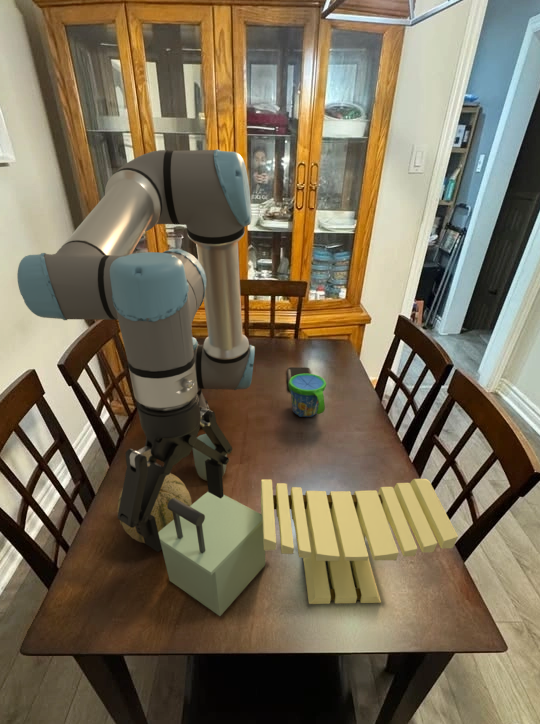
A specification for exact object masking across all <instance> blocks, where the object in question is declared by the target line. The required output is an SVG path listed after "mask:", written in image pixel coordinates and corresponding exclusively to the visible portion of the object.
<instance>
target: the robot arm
mask: <svg viewBox="0 0 540 724" xmlns="http://www.w3.org/2000/svg"><path fill="white" fill-rule="evenodd" d="M249 182H250V181H249V177H248V171H247V167H246V163H245V160H244V158H243V157H242V156H241V154H240V153H238V152H236V151H229V150H227V151H226V150H220V149H218V148H217V149H196V150H193V149H192V150H188V149H187V150H168V149H160V150H159V149H158V150H153V151H150V152H147V153H144V154H141V155H138V156H137V157H135V158H134V159H131V160H130V161H128V162H126V163H124V164H123V165H122V166H120V167H119V168H118V169H117V170H116V171H115V172H113V174H112V175H111V176H110V177H109V179H108V180H107V182H106V185H105V189H104V190H105V191H104V196H103V197H102V198H101V199H100V200H99V202H98V203H97V204H96V205H95V206H94V207H93V209H92V210H91V211H90V212H89V213H88V214H87V216H85V218H84V219H83V221H82V222H81V223H80V224H79V225H78V226H77V228H76V229H75V230H74V231H73V232H72V234H71V235H70V236H69V237H68V238H67V239H66V241H65V242H64V243H63V244H62V245H61V247H60V248H59V249H58V250H57V251H56V253H52V254H50V253H47V252H41V253H40V254H39V253H38V254H28V255H25V256H24V257H23V258H21V260H20V261H19V264H18V266H17V285H18V290H19V294H20V295H21V297H22V299H23V301H24V304H25V306H26V307H27V309H28V310H29V311H30V312H31V313H32V314H34V315H35V316H37V317H40V318H44V319H55V320H56V319H57V320H63V321H68V320H106V321H108V320H111V321H112V320H114V321H118V325H119V329H120V333H121V337H122V342H123V347H124V350H125V356H126V360H127V366H128V371H129V375H130V381H131V387H132V390H133V397H134V399H135V401H136V408H137V409H136V410H137V414H138V417H139V423H140V427H141V429H142V431H143V433H144V435H145V444H144V446H143V447H141V448H139V449H138V450H134V449H133V448H129V449H127V450H126V451H125V454H124V455H125V463H126V470H125V476H124V480H123V485H122V489H123V490H121V491H122V495H121V501H120V506H119V511H118V510H117V511H118V513H117V520H120V521H122V522H123V523H125V524H126V525H128V526H129V527H131V528H133V527H136V531H137V533H138V534H140V535H141V536H143V538H144V541H145V543H144V544H145V545H146V546H148V547H149V548H151V549H152V550H154V551H156V552H157V553H159V552H160V551H161V550H162V546H161V542H160V538H159V534H158V529H157V525H156V520H155V517H154V516H152V515H151V512H152V509H153V507H154V504H155V502H156V499H157V497H158V494H159V492H160V489H161V487H162V484H163V482H164V479H165V477H166V475H169V474H170V473H171V472H172V471H173V467H174V466H175V465H177V464H178V463H179V462H180V461H181V460H182V459H184V458H187V457H188V456H190V455H191V452H192V451H193V450H192V449H193V448H194V449H196V450H197V451H199V452H201V453H203V454H204V455H206V456H208V457H210V458H211V460H210V459H207V460H206V461H205V466H206V476H207V481H206V485H207V492H209V493H211V494H213V495H215V496H217V497H219V498H220V499H221V498H222V497H223V496H224V495H225V494H224V483H223V482H224V480H223V477H224V476H223V474H224V468H223V464H224V465H226V464H227V465H228V464H229V462H230V458H229V457H228V456H227V457H226V456H225V455H226V454H227V455H230V454H231V453H232V452H233V446H232V445H231V443H230V442H229V440H228V439H227V437H226V436H225V434H224V433H223V431H222V429H221V428H220V426H219V425H218V423H217V418H216V413H215V411H213V410H211V409H210V406H209V401H208V400H207V399H206V397H205V395H204V394H203V390H227V391H228V390H229V391H237V390H247V389H249V388H250V387H251V385H252V380H253V374H254V373H253V372H254V363H255V352H256V347H255V346H254V345H252V344H250V341H249V339H248V337H247V336H246V335H245V334H244V333H243V316H242V296H241V278H240V260H239V258H240V257H239V241H240V240H241V239H242V238H243V237H244V236H245V232H246V231H245V229H246V227H247V226H250V225H251V223H252V203H251V191H250V184H249ZM156 225H177V226H178V225H180V226H185V227H186V234H187V237H188V239H189V240H190V241H191V242H193V243H194V244H196V245H195V246H196V252H197V258H196V257H195V256H194V255H193V254H191V252H188V251H186V250H183V249H176V248H175V249H169V250H164V251H163V252H157V251H146V252H136V253H134V251H135V249H136V247H137V245H138V244H139V242H140V240H141V238H142V237H143V235H144V234H145V232H148V231H150V230H152V229H153V228H154V227H155V226H156ZM202 305H204V313H205V322H206V329H207V337H206V338H205V339H204V341H203V344H199V342H198V341H197V338H195V337H193V327H192V326H193V325H192V324H193V321H194V319H195V317H196V314H197V312H198V310H199V309H200V307H202ZM200 429H202V431H203V432H204V434H207V436H208V437H209V439H210V440H211V442H212V443H213V444H214V446H215V447H216V449H215V450H214V449H213V448H211V447H209V446H208V445H206V444H205V443H204V442H202V441H200V440H199V439H197V437H198V435H199V431H200ZM157 460H158V461H160V462H162V463H163V465H160V464H159V463H157ZM224 475H225V474H224ZM222 476H223V477H222ZM120 521H119V522H120Z"/></svg>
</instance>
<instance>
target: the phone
mask: <svg viewBox="0 0 540 724" xmlns="http://www.w3.org/2000/svg"><path fill="white" fill-rule="evenodd" d="M298 374H311V368H310V367H305V366H304V367H303V366H302V367H301V366H299V367H298V366H297V367H295V366H291V367H287V387H288V388H287V389H288V390H289V381H290V379H291V378H292V377H293V376H295V375H298Z"/></svg>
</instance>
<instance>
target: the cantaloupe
mask: <svg viewBox="0 0 540 724" xmlns="http://www.w3.org/2000/svg"><path fill="white" fill-rule="evenodd" d="M122 490H123V488H122ZM122 490H121V491H120V494H119V496H118V499H117V509H116V510H117V511H116V512H117V513H116V514H118V511H119V506H120V501H121V495H122ZM172 498H176V499H178V500H179V501H181V502H183V503H185V504H186V505H188V506H191V505H192V504H193V503H192V496H191V494H190V492H189V490H188V489H187V486H186V484H185V483H184V482H183V481H182V480H181V479H180V478H179V477H178V476H177V475H175V474H173V473H171V472H170V474H169V475H166V477H165V479H164V482H163V484H162V487H161V489H160V492H159V494H158V497H157V499H156V502H155V504H154V507H153V509H152V512H151V515H152V516H154V517H155V520H156V525H157V529H158V532H159V531H160V530H162V529H163V528H164V527H165V526H166V525H168V524H169V523H170V522H171V521H173V520H174V518H173V512H172V511H171V510H169V509H168V508H167V505H168V502H169V501H170V500H171V499H172ZM118 520H119V519H118ZM119 522H120V525H121V526H122V529H123V530H124V532H125V533H126V534H127V535H128V536H129V537H130V538H132V540H135V541H137V542H139V543H143V544H145V541H144V538H143V536H141V535H140V534H138V533H137V531H136V527H133V528H131V527H129V526H128V525H126V524H125V523H123V522H122V521H120V520H119Z"/></svg>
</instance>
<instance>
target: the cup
mask: <svg viewBox="0 0 540 724" xmlns="http://www.w3.org/2000/svg"><path fill="white" fill-rule="evenodd" d="M196 438H197V439H199V440H200V441H202V442H204V443H205V444H206V445H208V446H209V447H211V448H213V449H214V450H215V449H216V447H215V446H214V444H213V443H212V442H211V440H210V439H209V437H208V436H207V434H206V433H203V434H200V435H197V437H196ZM191 451H192V457H193V463H194V468H195V471H196V473H197V475H198V477H199V478H200V479H201V480H203V481H205V482H207V476H206V466H205V461H206V460H207V459H210V460H211V458H210V457H208V456H206V455H204V454H203V453H201V452H199V451H197V450H196V449H194V448H193V449H192V450H191ZM225 456H226V457H228V454H226V455H225ZM227 466H228V463H227V464H226V465H224V464H223V468H224V474H223V476H222V478H223V477H224V475H225V474H226V472H227V468H228V467H227Z"/></svg>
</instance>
